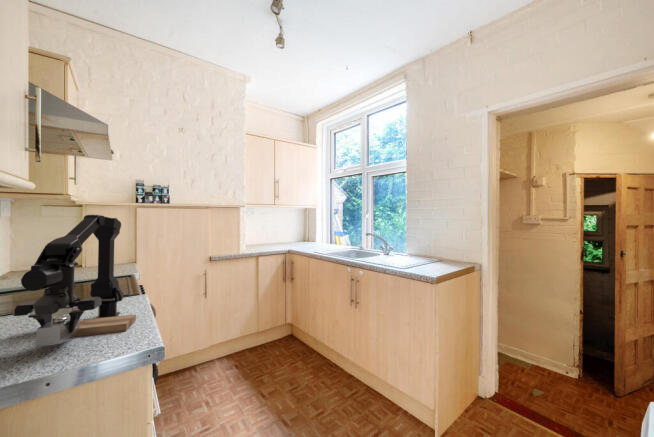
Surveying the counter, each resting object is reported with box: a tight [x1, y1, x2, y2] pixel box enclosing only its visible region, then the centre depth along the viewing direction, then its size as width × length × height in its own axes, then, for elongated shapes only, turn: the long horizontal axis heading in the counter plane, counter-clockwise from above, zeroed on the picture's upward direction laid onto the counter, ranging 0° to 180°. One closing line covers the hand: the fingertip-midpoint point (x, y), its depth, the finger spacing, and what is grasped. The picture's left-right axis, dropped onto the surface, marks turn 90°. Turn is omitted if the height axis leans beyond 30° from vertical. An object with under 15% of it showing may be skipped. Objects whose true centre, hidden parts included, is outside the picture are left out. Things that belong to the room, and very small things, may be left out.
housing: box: [35, 314, 81, 347], centre depth 81 cm, size 11×5×6 cm, turn 20°
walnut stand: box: [69, 314, 137, 338], centre depth 95 cm, size 10×16×2 cm, turn 110°
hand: (59, 333), depth 81 cm, fingers closed on housing, 5 cm apart
